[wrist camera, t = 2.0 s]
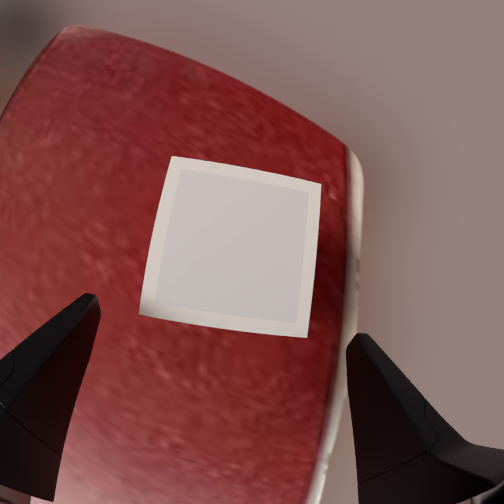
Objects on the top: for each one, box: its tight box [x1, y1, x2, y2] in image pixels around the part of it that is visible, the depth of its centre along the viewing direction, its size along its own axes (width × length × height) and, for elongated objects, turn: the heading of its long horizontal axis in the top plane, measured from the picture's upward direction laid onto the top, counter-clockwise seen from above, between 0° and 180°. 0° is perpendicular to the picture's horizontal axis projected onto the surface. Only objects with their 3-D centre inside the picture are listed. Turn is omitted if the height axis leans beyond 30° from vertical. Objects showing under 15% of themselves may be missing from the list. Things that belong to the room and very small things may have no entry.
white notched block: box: [139, 156, 321, 338], centre depth 15 cm, size 6×6×10 cm
